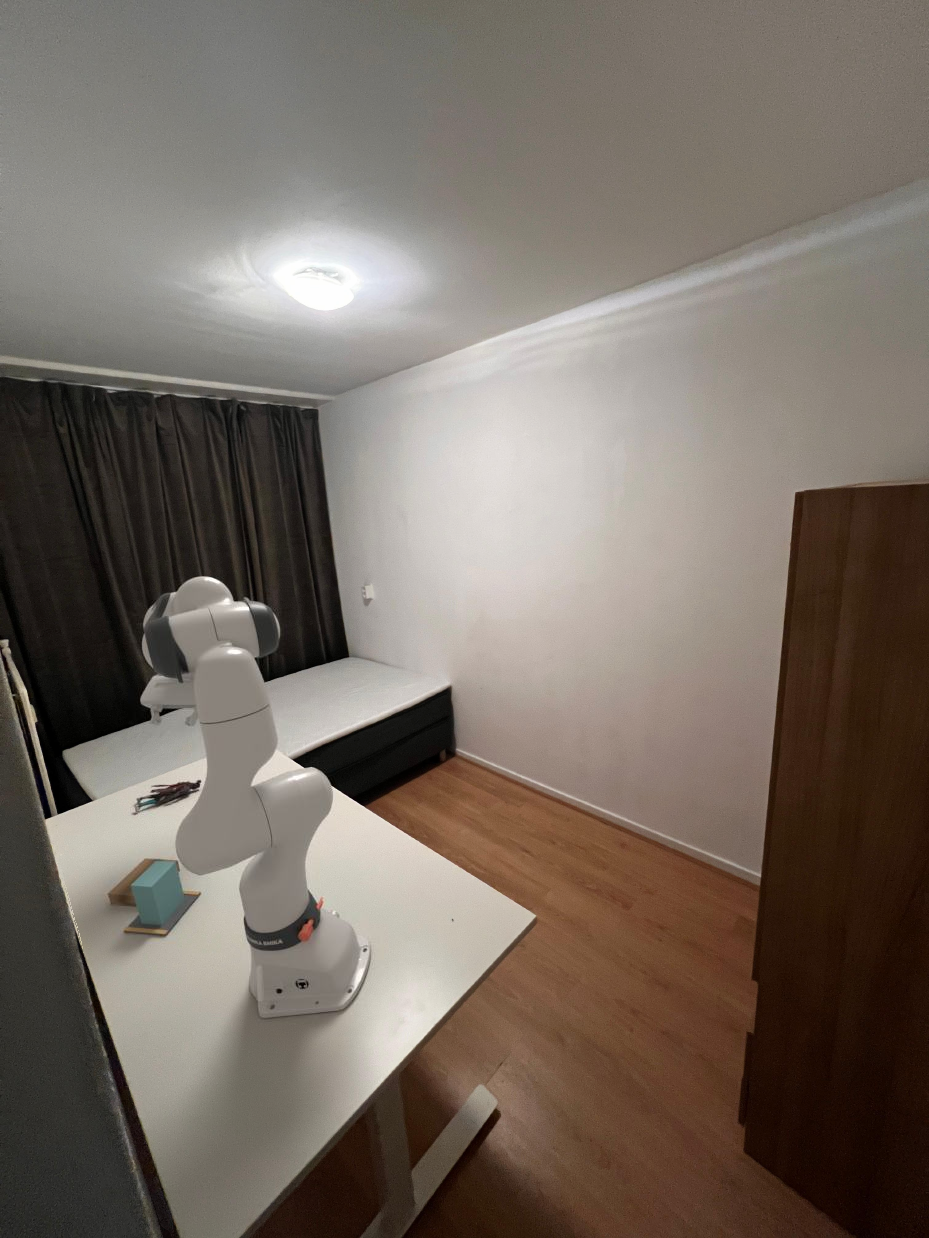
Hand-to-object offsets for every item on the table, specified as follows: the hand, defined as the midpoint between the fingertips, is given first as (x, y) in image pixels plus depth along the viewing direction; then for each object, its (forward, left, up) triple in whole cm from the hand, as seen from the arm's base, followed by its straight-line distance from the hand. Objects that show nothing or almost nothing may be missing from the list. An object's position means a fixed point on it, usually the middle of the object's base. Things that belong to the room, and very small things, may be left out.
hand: (171, 724), depth 117 cm
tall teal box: (-5, +19, -36) cm, 41 cm away
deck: (+5, +12, -36) cm, 39 cm away
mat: (-5, +19, -36) cm, 41 cm away
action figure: (+26, -21, -37) cm, 50 cm away
